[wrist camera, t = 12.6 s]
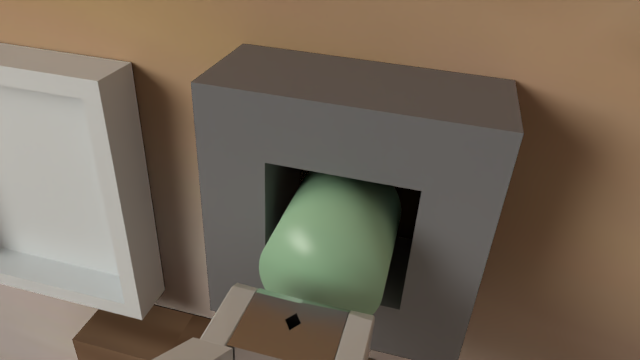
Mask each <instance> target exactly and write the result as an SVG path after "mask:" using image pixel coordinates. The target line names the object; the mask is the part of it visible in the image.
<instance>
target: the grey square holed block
mask: <svg viewBox="0 0 640 360" xmlns="http://www.w3.org/2000/svg"><path fill="white" fill-rule="evenodd" d="M191 89H192V101H193V112H194V124H195V135H196V147H197V159H198V170H199V182H200V193H201V205H202V216H203V228H204V239H205V251H206V262H207V274H208V285H209V297H210V308H211V310H212V311H216V312H217V310H218V308H219V307H220V305H221V303H222V302H223V300H224V298H225V297H226V295H227V294H228V292H229V290H230V289H231V287H232V286H234V285H235V284H236V283H240V284H244V285H248V286H251V287H255V288H261V289H265V288H264V286H263V284H262V281H261V278H260V274H259V260H260V256H261V253H262V251H263V249H264V247H265V246H266V244H267V242H268V240H269V239H270V237H271V235H272V233H273V232H274V230H275V228H276V226H277V225H278V223H279V221H280V219H281V218H282V216H283V214H284V212H285V210H286V209H287V207H288V205H289V203H290V202H291V200H292V198H293V196H294V195H295V193H296V191H297V189H298V188H299V184H300V169H303V170H308V171H314V172H319V173H325V174H330V175H336V176H341V177H347V178H352V179H358V180H363V181H369V182H374V183H380V184H385V185H391V186H396V187H402V188H407V189H413V190H418V191H421V196H420V202H419V207H418V212H417V218H416V223H415V229H414V234H413V239H408V238H403V237H398V236H396V240H395V245H394V249H393V253H392V258H391V262H390V267H389V271H388V275H387V280H386V284H385V289H384V293H383V297H382V301H381V303H380V306H379V307H378V309H377V310H376V312H375V313H374V314H373V315H374V316H375V322H374V328H373V334H372V340H371V346H370V349H371V350H375V351H379V352H383V353H387V354H391V355H395V356H399V357H403V358H407V359H411V360H458V358H459V355H460V352H461V348H462V345H463V341H464V338H465V334H466V331H467V327H468V324H469V321H470V317H471V314H472V310H473V307H474V303H475V300H476V296H477V293H478V290H479V286H480V283H481V279H482V276H483V272H484V269H485V265H486V262H487V259H488V255H489V252H490V248H491V245H492V241H493V238H494V234H495V231H496V228H497V224H498V221H499V217H500V214H501V210H502V207H503V203H504V200H505V197H506V193H507V190H508V186H509V183H510V179H511V176H512V172H513V169H514V166H515V162H516V159H517V155H518V152H519V148H520V145H521V141H522V138H523V135H524V131H523V125H522V119H521V113H520V107H519V101H518V95H517V89H516V83H515V80H508V79H501V78H493V77H486V76H479V75H471V74H464V73H456V72H449V71H442V70H434V69H427V68H420V67H412V66H405V65H397V64H390V63H383V62H375V61H368V60H360V59H353V58H346V57H338V56H331V55H323V54H316V53H309V52H301V51H294V50H286V49H279V48H272V47H264V46H257V45H249V44H242V45H241V46H239V47H238V48H236V49H235V50H234V51H232V52H231V53H230V54H228V55H227V56H226V57H224V58H223V59H222V60H220V61H219V62H218V63H216V64H215V65H213V66H212V67H211V68H209V69H208V70H207V71H205V72H204V73H203V74H201V75H200V76H199V77H197V78H196V79H194V80H193V81H192V82H191Z"/></svg>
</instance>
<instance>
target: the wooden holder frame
mask: <svg viewBox="0 0 640 360" xmlns="http://www.w3.org/2000/svg"><path fill="white" fill-rule="evenodd" d="M211 320H212V319H208V318H204V317H200V316H196V315H192V314H188V313H184V312H180V311H176V310H172V309H168V308H163V307H159V306H155V305H153V307H152V308H151V309H150V311H149V312H148V313H147V315H146V316H145V317H144V319H143V320H140V319H136V318H132V317H128V316H124V315H120V314H116V313H112V312H108V311H104V310H101V309H98V311H97V312H96V313H95V314H94V315H93V316H92V317H91V319H90V320H89V321H88V322H87V323H86V324H85V326H84V327H83V328H82V329H81V330H80V331H79V333H78V334H77V335H76V336H75V337H74V338H73V339H72V340H73V344H74V347H75V350H76V354H77V357H78V360H152V359H154V358H156V357H158V356H160V355H161V354H163V353H165V352H167V351H169V350H171V349H173V348H174V347H176V346H178V345H180V344H182V343H184V342H185V341H187V340H189V339H191V338H193V337H194V338H198V339H200V338H201V336H202V334H203V333H204V331H205V329H206V328H207V326H208V325H209V323H210V321H211ZM368 360H372V359H368Z"/></svg>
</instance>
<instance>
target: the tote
mask: <svg viewBox="0 0 640 360" xmlns="http://www.w3.org/2000/svg"><path fill="white" fill-rule="evenodd" d="M0 284H3V285H7V286H11V287H15V288H19V289H23V290H26V291H30V292H34V293H38V294H42V295H46V296H50V297H54V298H58V299H62V300H65V301H69V302H73V303H77V304H81V305H85V306H89V307H93V308H97V309H101V310H104V311H108V312H112V313H116V314H120V315H124V316H128V317H132V318H136V319H140V320H143V319H144V317H145V316H146V315H147V313H148V312H149V311H150V309H151V308H152V307H153V305H154V304H155V303H156V301H157V300H158V299H159V297H160V296H161V295H162V293H163V292H164V291H165V287H164V280H163V273H162V266H161V260H160V253H159V246H158V239H157V233H156V226H155V219H154V212H153V206H152V199H151V192H150V185H149V179H148V172H147V165H146V158H145V152H144V145H143V138H142V131H141V125H140V118H139V111H138V104H137V98H136V91H135V84H134V77H133V71H132V64H131V62H125V61H119V60H112V59H105V58H99V57H92V56H85V55H79V54H72V53H65V52H59V51H52V50H45V49H38V48H32V47H25V46H18V45H12V44H5V43H0Z"/></svg>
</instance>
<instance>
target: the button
mask: <svg viewBox="0 0 640 360" xmlns="http://www.w3.org/2000/svg"><path fill="white" fill-rule="evenodd" d="M400 218H401V202H400V198H399V196H398V193H397V191H396V189H395V187H394V186H391V185H385V184H380V183H374V182H369V181H363V180H358V179H352V178H347V177H341V176H336V175H330V174H325V173H319V172H314V171H310V172H309V173H308V174H307V175H306V176H305V178H304V179H303V181H302V182H301V184H300V186H299V188H298V189H297V191H296V193H295V195H294V196H293V198H292V200H291V202H290V203H289V205H288V207H287V209H286V210H285V212H284V214H283V216H282V218H281V219H280V221H279V223H278V225H277V226H276V228H275V230H274V232H273V233H272V235H271V237H270V239H269V240H268V242H267V244H266V246H265V247H264V249H263V251H262V253H261V256H260V260H259V274H260V278H261V281H262V284H263V286H264V288H265V290H268V291H272V292H276V293H280V294H283V295H287V296H291V297H295V298H298V299H302V300H308V301H312V302H317V303H321V304H326V305H330V306H334V307H339V308H343V309H347V310H350V311H351V310H352V311H356V312H360V313H365V314H369V315H373V314H374V313H375V312H376V310H377V309H378V307H379V306H380V303H381V301H382V297H383V293H384V289H385V284H386V280H387V275H388V271H389V267H390V262H391V258H392V253H393V249H394V245H395V240H396V236H397V232H398V227H399V223H400Z"/></svg>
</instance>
